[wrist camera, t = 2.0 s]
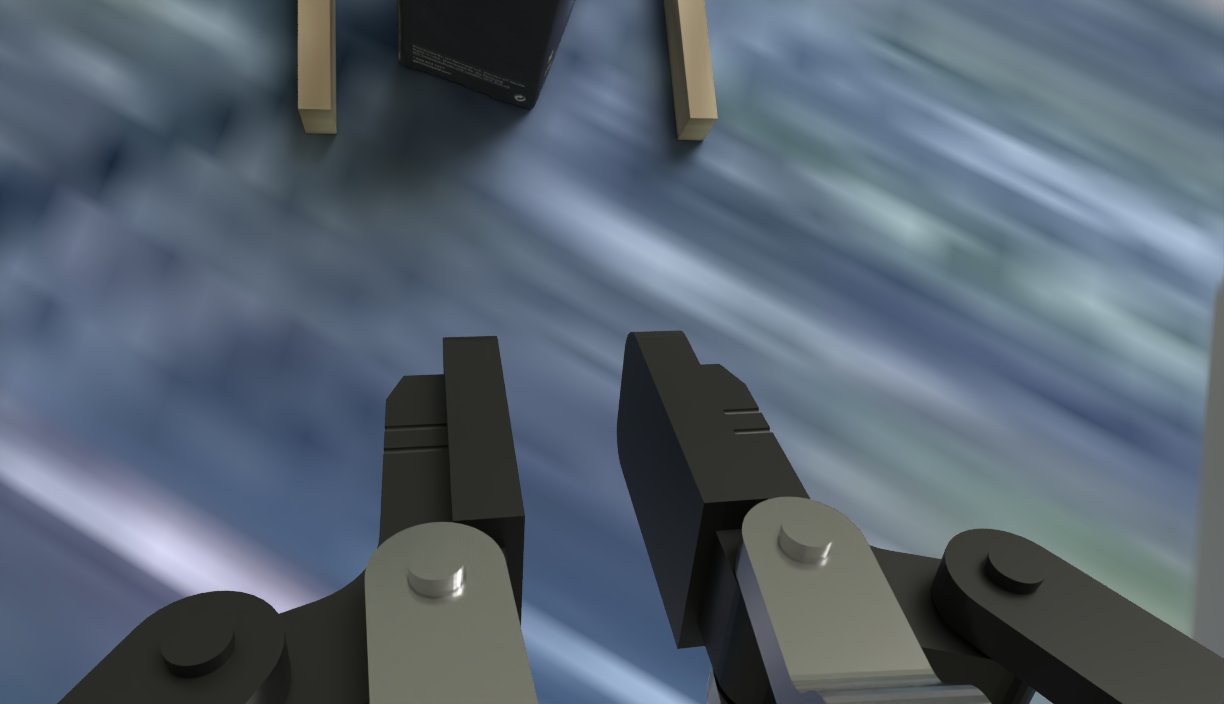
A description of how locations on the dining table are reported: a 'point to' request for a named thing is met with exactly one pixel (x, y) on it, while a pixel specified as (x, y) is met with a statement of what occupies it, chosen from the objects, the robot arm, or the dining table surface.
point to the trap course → (683, 43)
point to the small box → (484, 43)
